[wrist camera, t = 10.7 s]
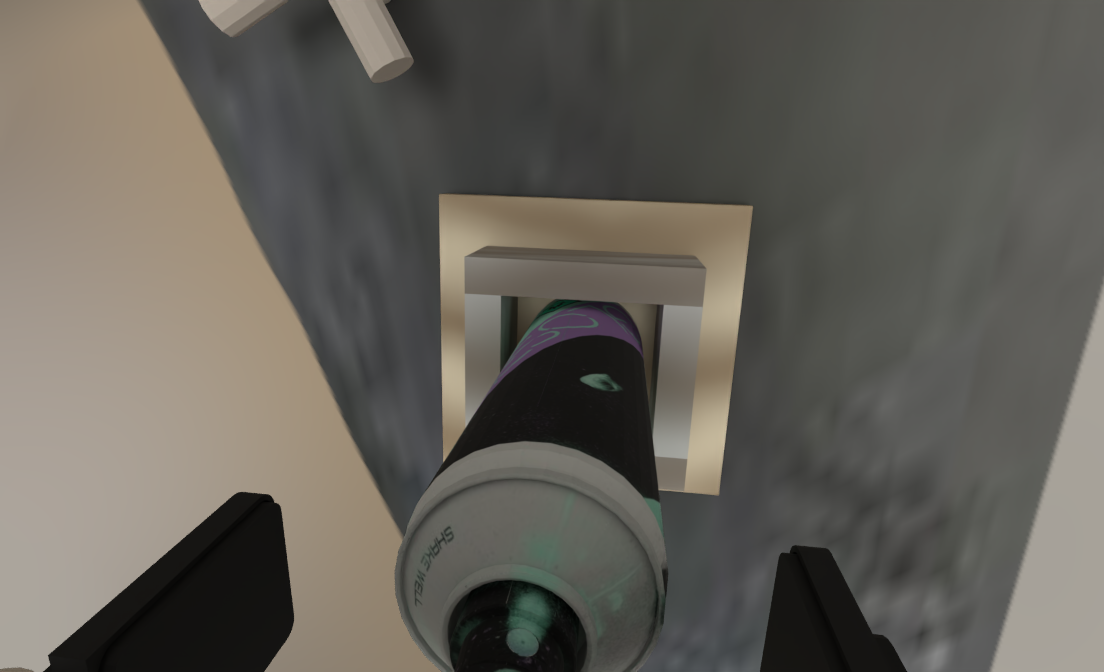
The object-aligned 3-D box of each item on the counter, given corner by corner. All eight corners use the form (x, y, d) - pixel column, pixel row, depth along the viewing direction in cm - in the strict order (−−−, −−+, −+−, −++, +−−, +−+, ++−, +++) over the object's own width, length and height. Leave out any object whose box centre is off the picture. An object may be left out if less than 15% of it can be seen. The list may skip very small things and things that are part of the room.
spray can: (628, 279, 27) (642, 522, 8) (652, 390, 28) (714, 830, 9) (514, 304, 28) (282, 576, 9) (542, 410, 29) (391, 850, 10)
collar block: (446, 193, 28) (408, 196, 23) (747, 205, 27) (775, 211, 22) (450, 460, 32) (417, 512, 27) (715, 483, 31) (732, 543, 26)
